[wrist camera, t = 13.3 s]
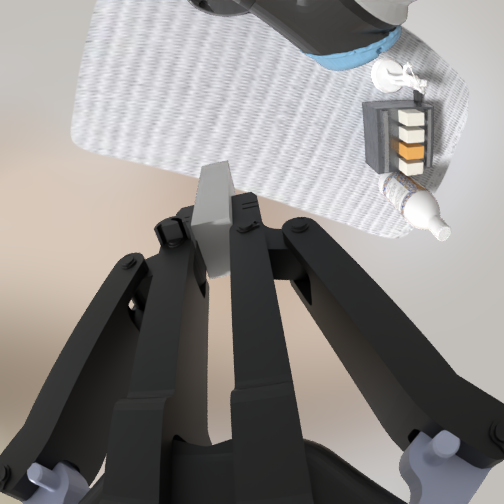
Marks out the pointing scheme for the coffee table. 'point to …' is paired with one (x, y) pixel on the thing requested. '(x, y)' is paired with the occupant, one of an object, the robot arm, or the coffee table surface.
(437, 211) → the bath foam
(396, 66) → the figurine
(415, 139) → the paddle
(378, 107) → the breaker panel
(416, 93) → the dark grey slat
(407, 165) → the cream small block
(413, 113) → the cream rectangular block
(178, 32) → the coffee table surface
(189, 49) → the coffee table surface
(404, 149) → the paddle
